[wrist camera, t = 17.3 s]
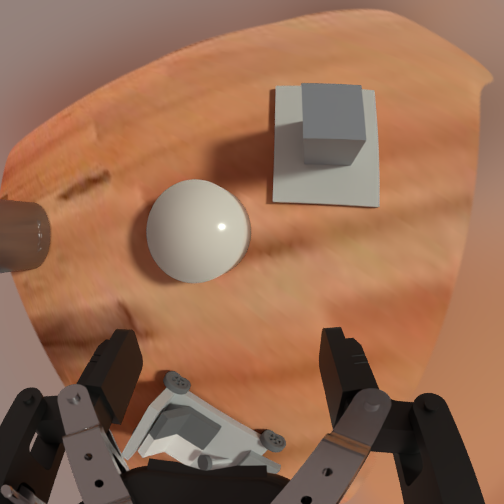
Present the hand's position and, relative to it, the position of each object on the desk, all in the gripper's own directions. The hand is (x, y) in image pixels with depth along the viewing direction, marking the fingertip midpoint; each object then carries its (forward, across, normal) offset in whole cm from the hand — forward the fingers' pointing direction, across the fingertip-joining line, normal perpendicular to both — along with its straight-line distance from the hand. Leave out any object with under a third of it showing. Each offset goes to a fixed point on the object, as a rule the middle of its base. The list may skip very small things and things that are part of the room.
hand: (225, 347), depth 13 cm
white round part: (+19, +4, +1) cm, 19 cm away
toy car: (+11, +4, +25) cm, 27 cm away
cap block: (+19, -8, -7) cm, 22 cm away
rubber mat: (+20, -8, -7) cm, 23 cm away
